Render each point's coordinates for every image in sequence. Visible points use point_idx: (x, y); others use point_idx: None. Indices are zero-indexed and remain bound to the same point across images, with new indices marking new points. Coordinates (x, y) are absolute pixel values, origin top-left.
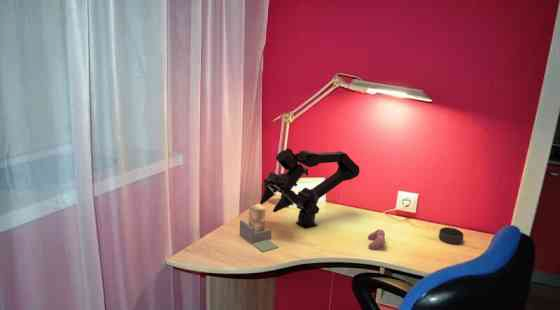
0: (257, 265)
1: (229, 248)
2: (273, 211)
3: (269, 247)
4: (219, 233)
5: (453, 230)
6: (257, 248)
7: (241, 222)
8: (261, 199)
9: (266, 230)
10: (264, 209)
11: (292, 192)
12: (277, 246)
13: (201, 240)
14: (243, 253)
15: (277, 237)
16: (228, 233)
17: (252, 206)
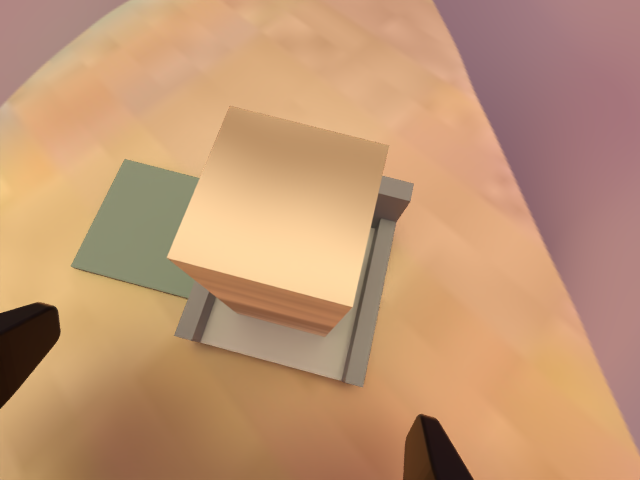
0: (71, 60)
1: (295, 87)
2: (42, 308)
3: (116, 220)
4: (475, 164)
5: None
6: (176, 174)
7: (387, 182)
8: (461, 475)
9: (201, 297)
10: (180, 244)
11: None
12: (79, 266)
13: (458, 58)
14: (203, 95)
15: (168, 392)
16: (443, 198)
17: (354, 168)
